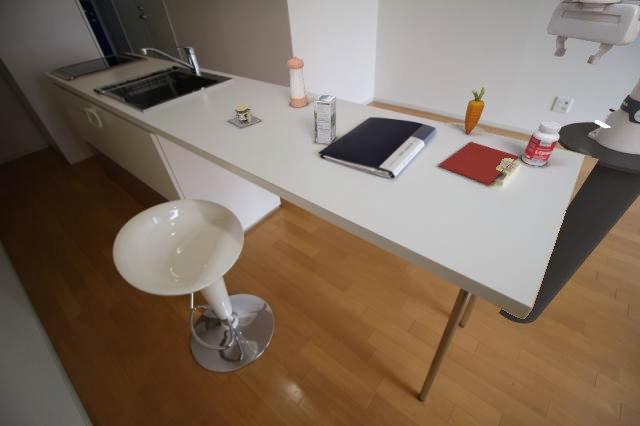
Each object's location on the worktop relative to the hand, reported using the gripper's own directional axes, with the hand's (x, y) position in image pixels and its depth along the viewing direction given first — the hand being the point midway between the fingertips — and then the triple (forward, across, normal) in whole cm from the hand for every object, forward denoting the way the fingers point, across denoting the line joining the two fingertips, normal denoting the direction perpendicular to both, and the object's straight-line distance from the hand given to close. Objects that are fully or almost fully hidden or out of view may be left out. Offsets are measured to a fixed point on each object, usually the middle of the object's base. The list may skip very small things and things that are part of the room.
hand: (574, 59), depth 74 cm
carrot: (+25, +15, +13) cm, 32 cm away
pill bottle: (+25, -7, +7) cm, 27 cm away
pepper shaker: (+25, +65, +62) cm, 93 cm away
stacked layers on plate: (+25, +54, +87) cm, 105 cm away
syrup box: (+25, +26, +60) cm, 70 cm away
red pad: (+25, -3, +22) cm, 33 cm away
